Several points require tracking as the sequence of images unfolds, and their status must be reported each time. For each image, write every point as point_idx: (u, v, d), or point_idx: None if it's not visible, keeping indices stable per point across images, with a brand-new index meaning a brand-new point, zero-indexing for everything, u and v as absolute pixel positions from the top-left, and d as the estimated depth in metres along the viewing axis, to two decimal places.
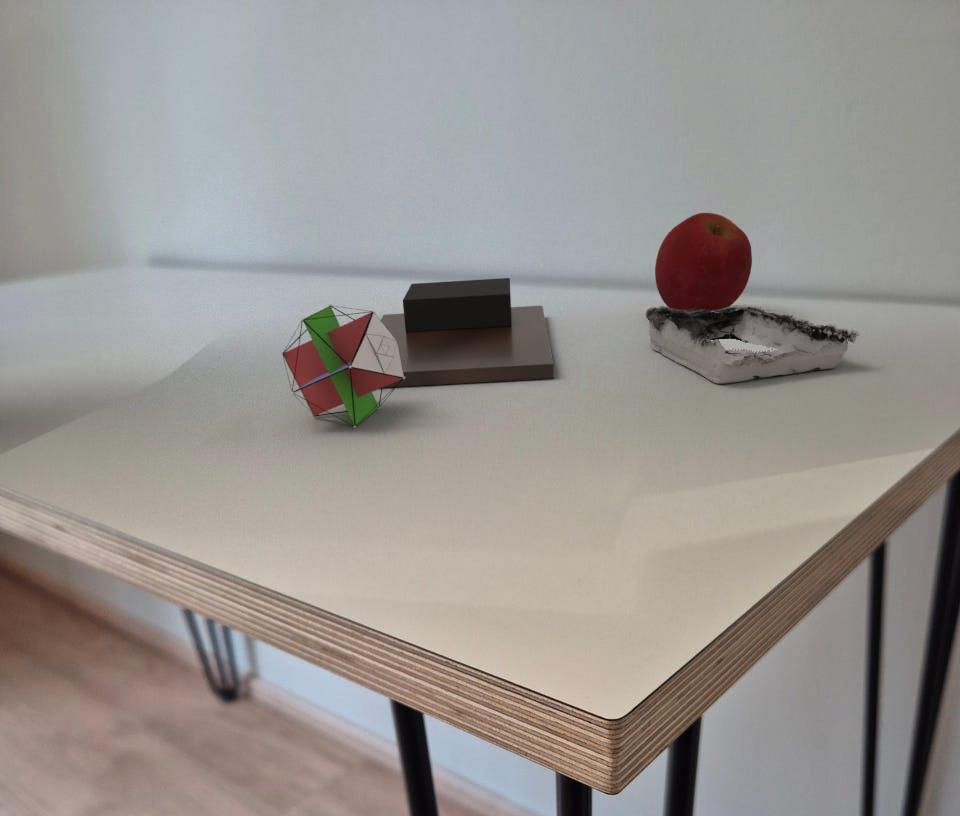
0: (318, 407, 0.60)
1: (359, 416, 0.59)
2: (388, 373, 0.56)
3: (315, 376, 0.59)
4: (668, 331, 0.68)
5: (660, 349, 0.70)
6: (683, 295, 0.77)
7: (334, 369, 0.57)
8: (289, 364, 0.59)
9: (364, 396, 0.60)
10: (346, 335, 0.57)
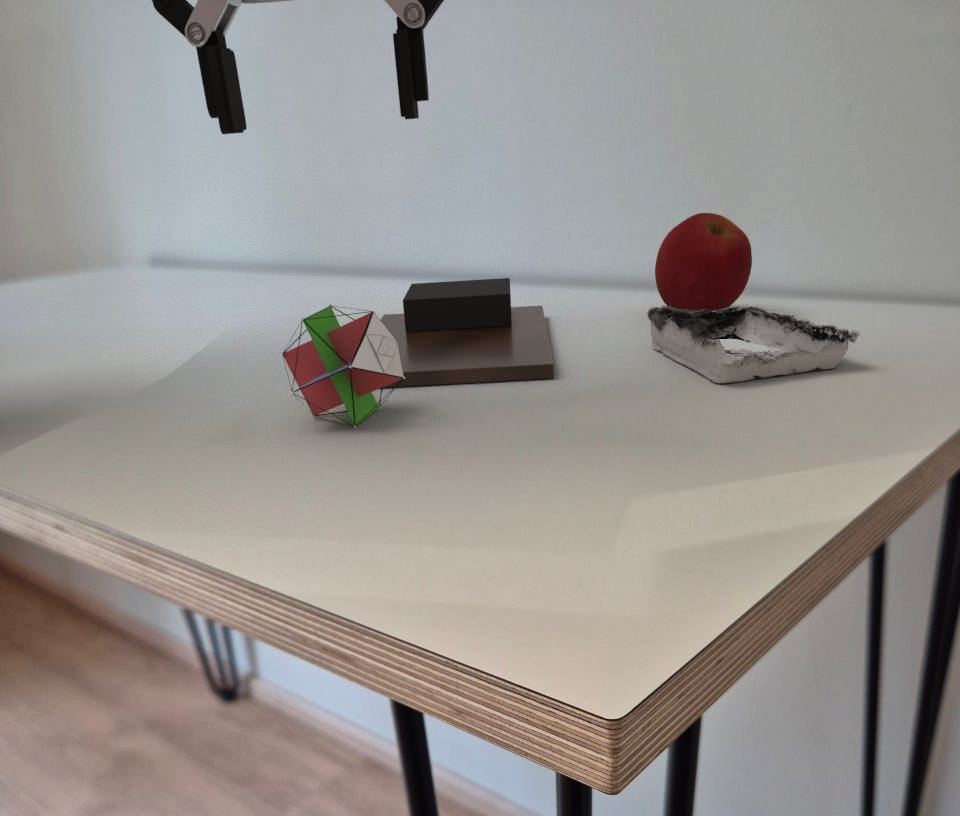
0: (318, 407, 0.60)
1: (359, 416, 0.59)
2: (388, 373, 0.56)
3: (315, 376, 0.59)
4: (669, 331, 0.68)
5: (661, 349, 0.70)
6: (683, 295, 0.77)
7: (334, 369, 0.57)
8: (289, 364, 0.59)
9: (364, 396, 0.60)
10: (346, 335, 0.57)
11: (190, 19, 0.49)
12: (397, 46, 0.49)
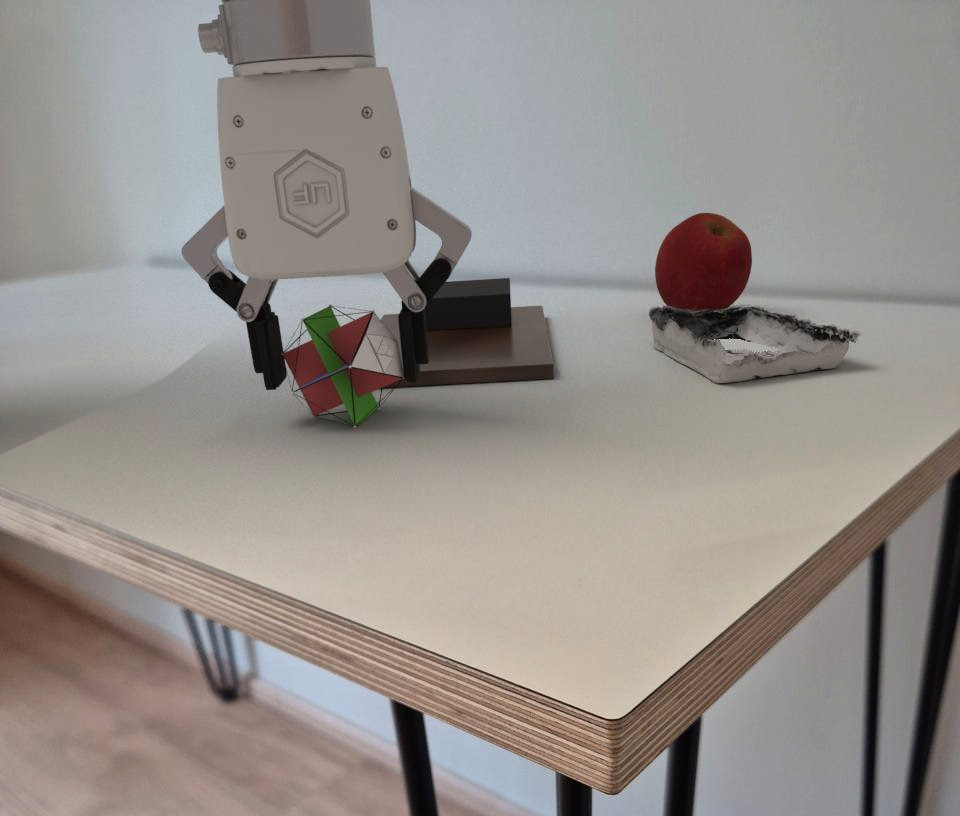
0: (318, 407, 0.60)
1: (359, 416, 0.59)
2: (388, 373, 0.56)
3: (315, 376, 0.59)
4: (670, 331, 0.68)
5: (663, 348, 0.70)
6: (683, 295, 0.77)
7: (334, 369, 0.57)
8: (289, 364, 0.59)
9: (364, 396, 0.60)
10: (346, 335, 0.57)
11: (240, 301, 0.55)
12: (402, 326, 0.56)
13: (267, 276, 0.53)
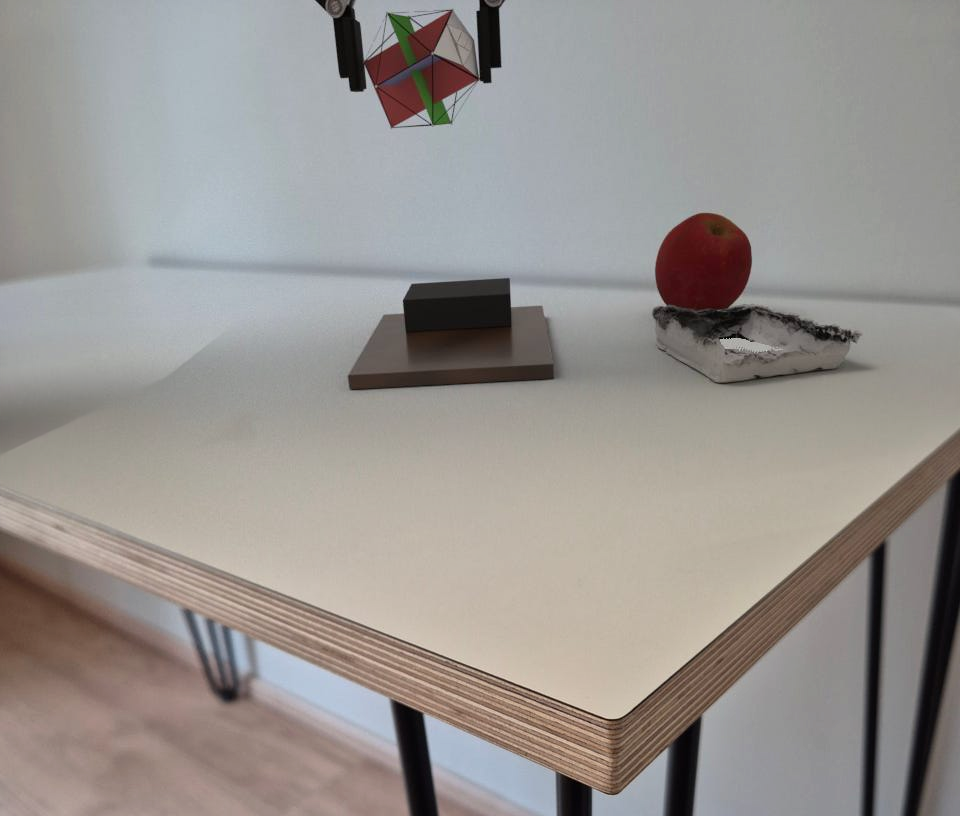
0: (395, 118, 0.64)
1: (436, 119, 0.63)
2: (466, 67, 0.60)
3: (394, 84, 0.63)
4: (672, 330, 0.68)
5: (665, 348, 0.70)
6: (683, 295, 0.77)
7: (414, 69, 0.61)
8: (369, 73, 0.63)
9: (439, 107, 0.64)
10: (425, 37, 0.61)
11: None
12: (480, 21, 0.59)
13: None
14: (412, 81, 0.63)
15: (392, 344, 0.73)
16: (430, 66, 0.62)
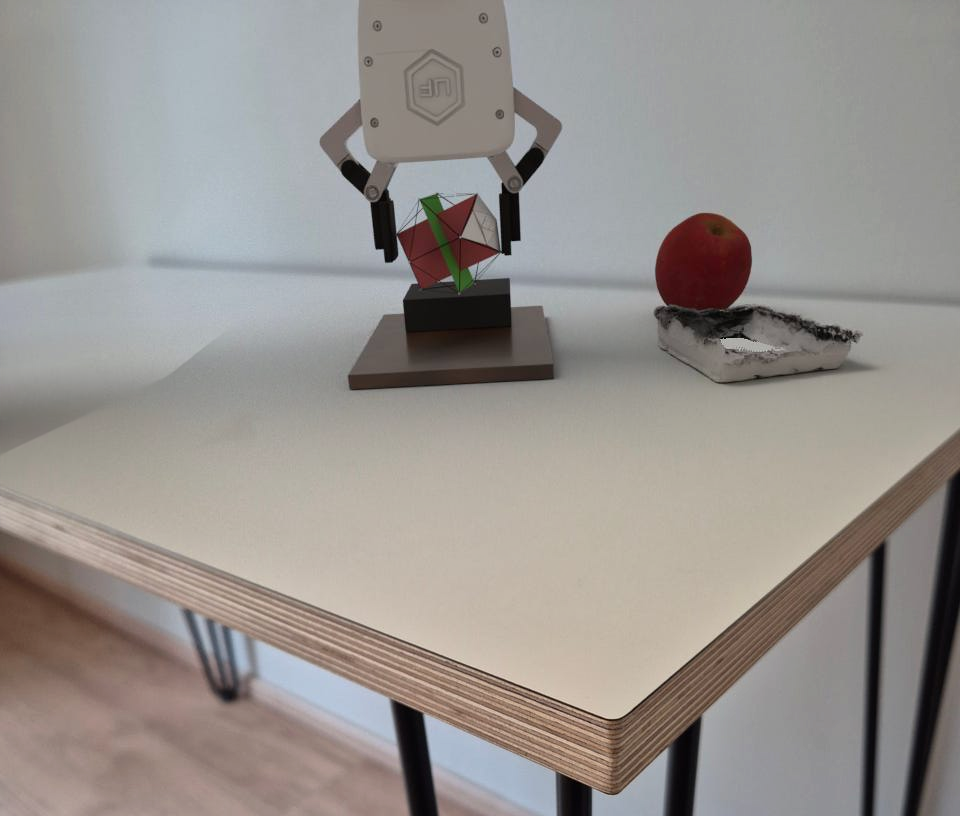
0: (425, 281, 0.71)
1: (462, 286, 0.70)
2: (489, 245, 0.67)
3: (424, 253, 0.70)
4: (674, 330, 0.68)
5: (667, 347, 0.70)
6: (683, 295, 0.77)
7: (442, 244, 0.68)
8: (402, 243, 0.70)
9: (464, 272, 0.71)
10: (452, 215, 0.68)
11: (367, 184, 0.66)
12: (502, 206, 0.66)
13: (393, 160, 0.64)
14: (440, 251, 0.70)
15: (392, 344, 0.73)
16: (457, 239, 0.69)
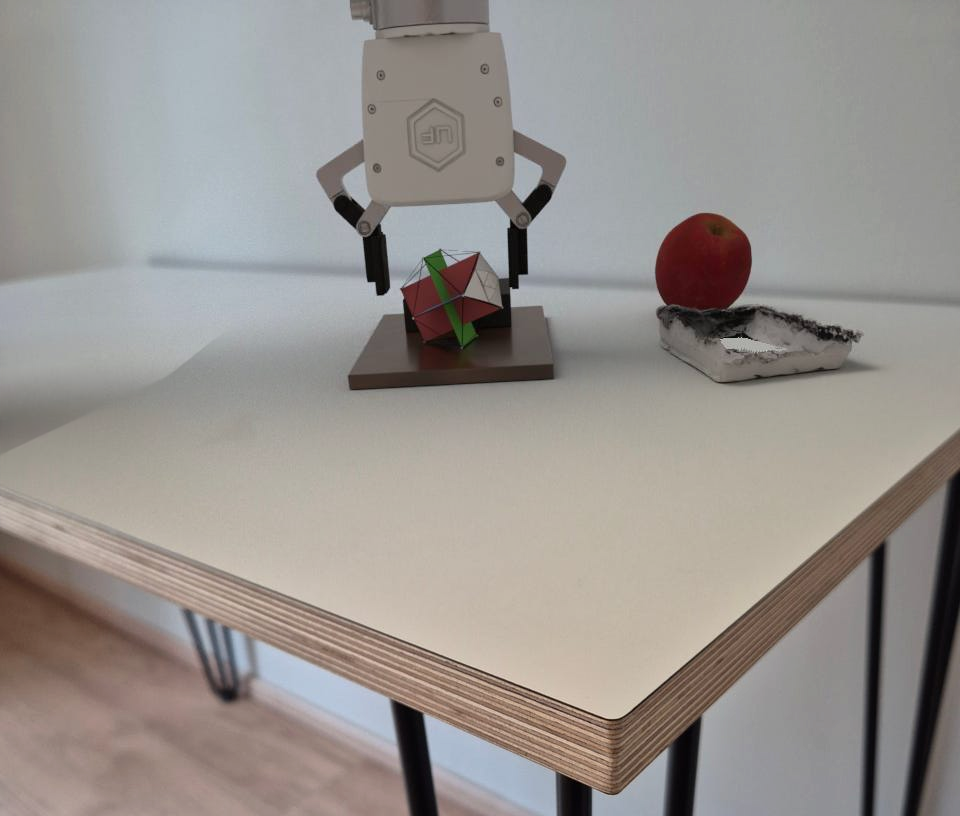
0: (428, 334, 0.73)
1: (464, 340, 0.71)
2: (491, 302, 0.69)
3: (427, 307, 0.72)
4: (675, 330, 0.68)
5: (669, 347, 0.70)
6: (683, 295, 0.77)
7: (446, 300, 0.70)
8: (406, 298, 0.72)
9: (466, 325, 0.73)
10: (455, 272, 0.70)
11: (361, 218, 0.67)
12: (510, 241, 0.68)
13: (395, 204, 0.66)
14: (443, 306, 0.71)
15: (392, 344, 0.73)
16: (459, 295, 0.71)
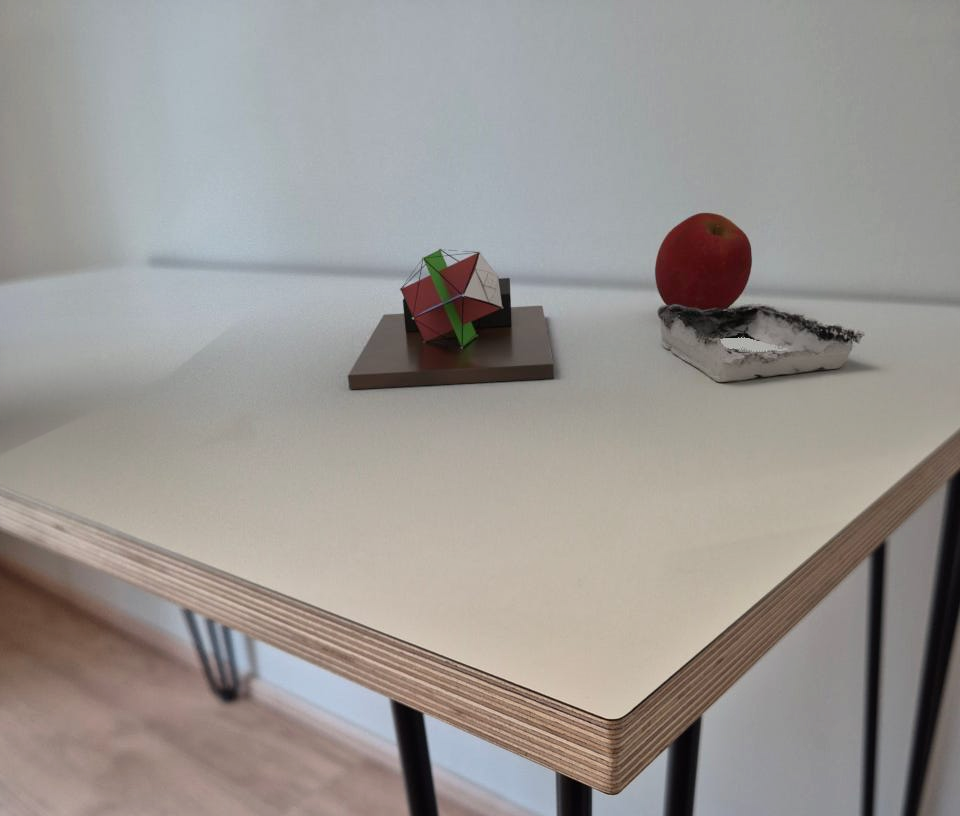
0: (428, 334, 0.73)
1: (464, 340, 0.71)
2: (491, 302, 0.69)
3: (427, 307, 0.72)
4: (676, 329, 0.68)
5: (670, 347, 0.70)
6: (683, 295, 0.77)
7: (445, 300, 0.70)
8: (405, 298, 0.72)
9: (466, 325, 0.73)
10: (455, 272, 0.70)
11: None
12: None
13: None
14: (443, 306, 0.71)
15: (392, 344, 0.73)
16: (459, 295, 0.71)
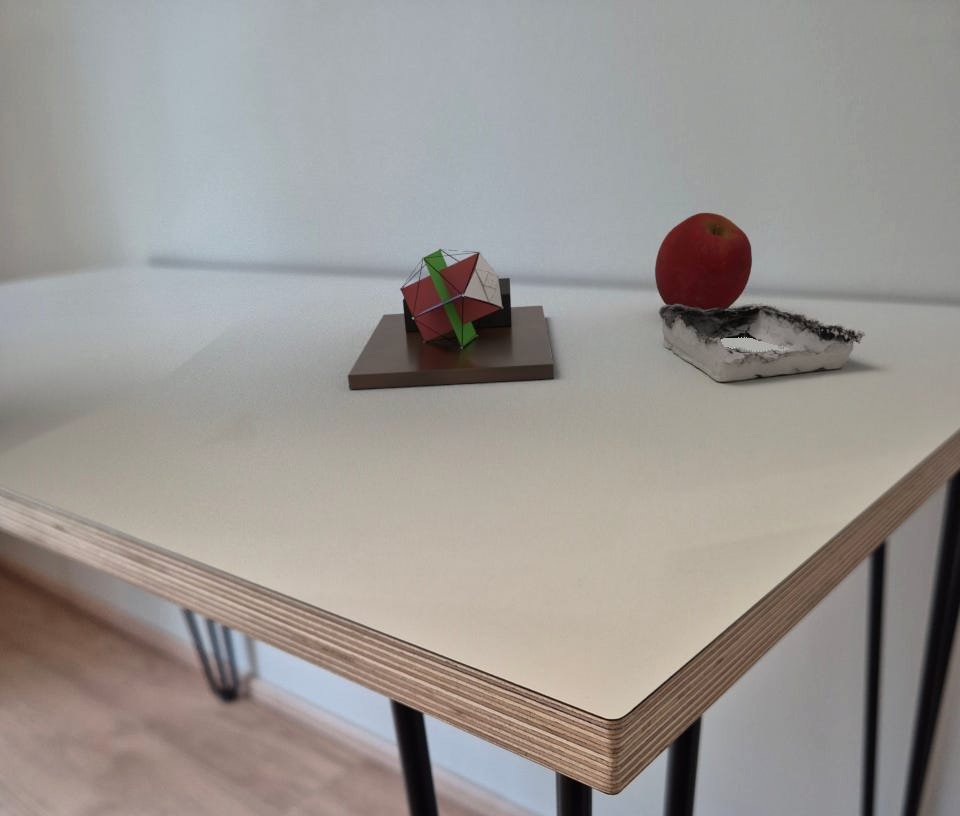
0: (428, 334, 0.73)
1: (464, 340, 0.71)
2: (491, 302, 0.69)
3: (427, 307, 0.72)
4: (678, 329, 0.68)
5: (671, 346, 0.70)
6: (683, 295, 0.77)
7: (445, 300, 0.70)
8: (405, 298, 0.72)
9: (466, 325, 0.73)
10: (455, 272, 0.70)
11: None
12: None
13: None
14: (443, 306, 0.71)
15: (392, 344, 0.73)
16: (459, 295, 0.71)
